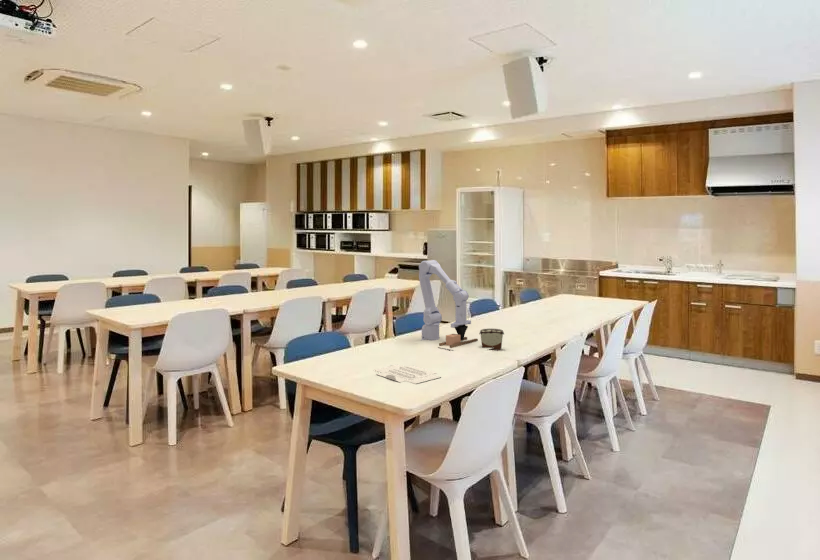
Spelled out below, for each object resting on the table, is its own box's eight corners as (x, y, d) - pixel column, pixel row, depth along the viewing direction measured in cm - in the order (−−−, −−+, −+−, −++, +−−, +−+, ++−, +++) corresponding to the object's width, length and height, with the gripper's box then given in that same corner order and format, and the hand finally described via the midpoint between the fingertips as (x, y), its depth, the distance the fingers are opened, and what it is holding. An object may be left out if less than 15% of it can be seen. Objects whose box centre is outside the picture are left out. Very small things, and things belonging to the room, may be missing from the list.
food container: (503, 347, 273) (503, 328, 272) (504, 350, 267) (504, 330, 266) (478, 347, 275) (478, 328, 274) (479, 350, 269) (479, 330, 268)
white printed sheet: (403, 365, 243) (403, 357, 242) (447, 380, 222) (447, 371, 221) (367, 373, 230) (367, 365, 229) (409, 390, 209) (409, 381, 208)
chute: (437, 347, 275) (437, 343, 274) (464, 341, 290) (464, 336, 290) (452, 350, 268) (452, 345, 267) (479, 343, 284) (479, 338, 283)
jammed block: (445, 345, 275) (445, 335, 275) (453, 343, 279) (453, 333, 279) (453, 346, 272) (453, 336, 271) (460, 344, 276) (460, 334, 276)
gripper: (458, 316, 271) (458, 342, 272) (475, 312, 281) (475, 338, 283) (447, 314, 276) (447, 340, 277) (465, 311, 286) (465, 336, 287)
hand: (461, 339), depth 280 cm, fingers closed
